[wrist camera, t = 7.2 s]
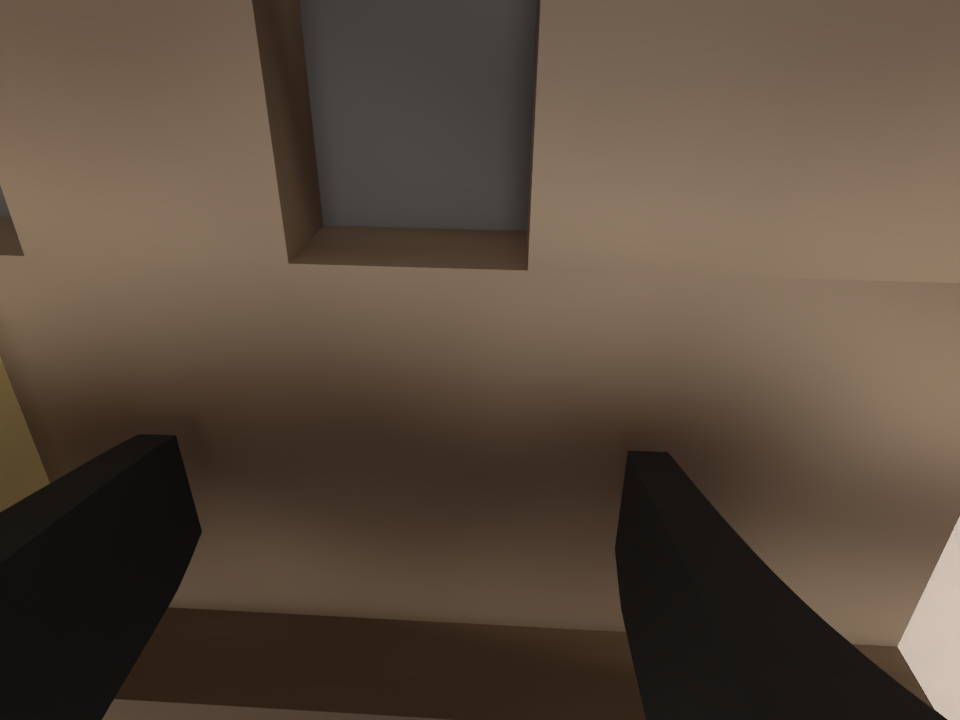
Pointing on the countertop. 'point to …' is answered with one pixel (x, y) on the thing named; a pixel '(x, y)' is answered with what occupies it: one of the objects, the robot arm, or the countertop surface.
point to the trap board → (486, 320)
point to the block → (16, 450)
